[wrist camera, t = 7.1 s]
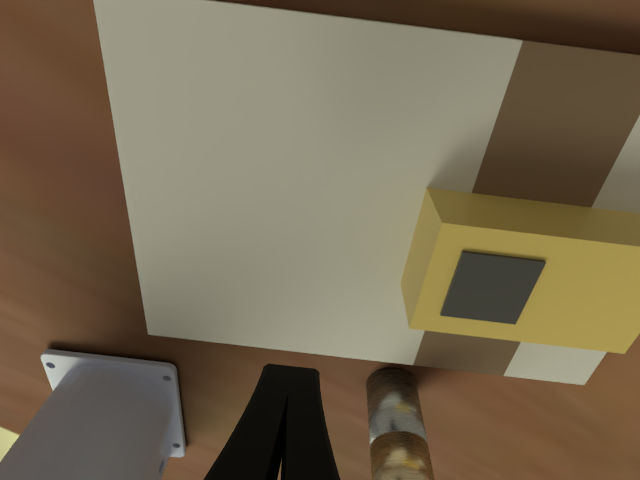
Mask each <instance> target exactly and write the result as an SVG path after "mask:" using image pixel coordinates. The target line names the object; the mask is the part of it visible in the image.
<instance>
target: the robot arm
mask: <svg viewBox="0 0 640 480" xmlns="http://www.w3.org/2000/svg"><path fill="white" fill-rule="evenodd" d="M40 357H41V360H42V363H43V366H44V368H45V371H46V374H47V376H48V379H49V382H50V384H51V387H52V390H53V392H52V393H51V394H50V396H49V397H48V398H47V400H46V401H45V402H44V404H43V405H42V406H41V408H40V409H39V410H38V412H37V413H36V414H35V416H34V417H33V419H32V420H31V421H30V423H29V424H28V425H27V427H26V428H25V429H24V431H23V432H22V433H21V435H20V436H19V437H18V439H17V440H16V442H15V443H14V444H13V446H12V447H11V448H10V450H9V451H8V452H7V454H6V455H5V456H4V458H3V459H2V461H1V462H0V480H161V478H162V476H163V473H164V470H165V468H166V465H167V462H168V460H169V457H170V456H171V457H183V456H184V455H185V452H186V444H185V435H184V427H183V419H182V410H181V402H180V393H179V385H178V377H177V369H176V367H175V366H174V365H173V364H171V363H166V362H158V361H149V360H140V359H131V358H123V357H114V356H105V355H96V354H88V353H79V352H70V351H62V350H53V349H47V350H45V351H44V352H43V353H42V354H41V356H40ZM281 459H282V464H281V480H340V477H339V474H338V470H337V467H336V463H335V460H334V456H333V452H332V448H331V444H330V440H329V436H328V431H327V427H326V422H325V417H324V411H323V406H322V399H321V392H320V381H319V372H318V371H317V370H316V369H311V368H302V367H293V366H284V365H275V364H267V365H265V366H264V368H263V371H262V374H261V376H260V379H259V381H258V384H257V386H256V388H255V390H254V393H253V395H252V397H251V399H250V401H249V403H248V405H247V407H246V409H245V411H244V413H243V415H242V416H241V418H240V420H239V422H238V424H237V425H236V427H235V429H234V431H233V433H232V434H231V436H230V438H229V440H228V441H227V443H226V445H225V446H224V448H223V450H222V451H221V453H220V455H219V456H218V458H217V459H216V461H215V462H214V464H213V466H212V467H211V469H210V470H209V472H208V473H207V475H206V477H205V478H204V480H277V478H278V473H279V468H280V463H281Z"/></svg>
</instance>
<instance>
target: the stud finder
mask: <svg viewBox="0 0 640 480" xmlns="http://www.w3.org/2000/svg"><path fill="white" fill-rule="evenodd" d="M400 285H401V290H402V295H403V300H404V305H405V310H406V315H407V320H408V325H409V329H417V330H425V331H434V332H442V333H451V334H459V335H468V336H477V337H485V338H494V339H502V340H511V341H519V342H528V343H536V344H545V345H554V346H562V347H571V348H579V349H588V350H596V351H605V352H614V353H622V354H625V352H626V351H627V350H628V348H629V347H630V346H631V344H632V343H633V342H634V340H635V339H636V337H637V336H638V335H639V333H640V213H632V212H624V211H615V210H607V209H599V208H591V207H582V206H574V205H566V204H558V203H550V202H541V201H533V200H525V199H517V198H509V197H500V196H492V195H484V194H476V193H467V192H459V191H451V190H443V189H435V188H426V191H425V195H424V198H423V202H422V206H421V209H420V213H419V217H418V220H417V224H416V228H415V231H414V235H413V239H412V243H411V246H410V250H409V254H408V257H407V261H406V265H405V268H404V272H403V276H402V279H401V283H400Z"/></svg>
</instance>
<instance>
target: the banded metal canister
mask: <svg viewBox="0 0 640 480" xmlns="http://www.w3.org/2000/svg"><path fill="white" fill-rule="evenodd" d="M366 389H367V406H368V423H369V440H370V457H371V474H372V480H434V474H433V469H432V464H431V459H430V453H429V448H428V443H427V437H426V432H425V427H424V422H423V416H422V411H421V406H420V401H419V395H418V390H417V385H416V380H415V378H414V376H413V375H412V374H411V373H409V372H408V371H406V370H403V369H400V368H384V369H381V370H378V371H376V372H374V373H373V374H371V375H370V376H369V378H368V379H367V382H366Z"/></svg>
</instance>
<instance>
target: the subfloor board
mask: <svg viewBox="0 0 640 480" xmlns="http://www.w3.org/2000/svg"><path fill="white" fill-rule="evenodd" d="M93 1H94V7H95V13H96V19H97V25H98V32H99V38H100V44H101V50H102V56H103V62H104V68H105V74H106V81H107V87H108V93H109V99H110V105H111V111H112V117H113V123H114V129H115V136H116V142H117V148H118V154H119V160H120V166H121V172H122V178H123V184H124V191H125V197H126V203H127V209H128V215H129V221H130V227H131V233H132V240H133V246H134V252H135V258H136V264H137V270H138V276H139V282H140V288H141V295H142V301H143V307H144V313H145V319H146V325H147V331H148V335H155V336H164V337H173V338H181V339H190V340H199V341H207V342H216V343H225V344H233V345H242V346H251V347H259V348H268V349H277V350H285V351H294V352H303V353H311V354H320V355H329V356H337V357H346V358H355V359H363V360H372V361H381V362H389V363H398V364H407V365H415V366H424V367H433V368H441V369H450V370H459V371H467V372H476V373H485V374H493V375H502V376H511V377H519V378H528V379H537V380H545V381H554V382H562V383H571V384H580V385H584V384H585V383H586V382H587V380H588V379H589V377H590V376H591V374H592V373H593V371H594V370H595V369H596V367H597V366H598V364H599V363H600V361H601V360H602V359H603V357H604V356H605V354H606V353H607V352H605V351H596V350H588V349H579V348H571V347H562V346H554V345H545V344H536V343H528V342H519V341H511V340H502V339H494V338H485V337H477V336H468V335H459V334H451V333H442V332H434V331H425V330H417V329H409V325H408V320H407V315H406V310H405V305H404V300H403V295H402V290H401V285H400V283H401V279H402V276H403V272H404V268H405V265H406V261H407V257H408V254H409V250H410V246H411V243H412V239H413V235H414V231H415V228H416V224H417V220H418V217H419V213H420V209H421V206H422V202H423V198H424V195H425V191H426V188H435V189H443V190H451V191H459V192H467V193H476V194H484V195H492V196H500V197H509V198H517V199H525V200H533V201H541V202H550V203H558V204H566V205H574V206H582V207H591V208H599V209H607V210H615V211H624V212H632V213H640V54H633V53H625V52H617V51H609V50H601V49H594V48H586V47H578V46H570V45H562V44H554V43H546V42H539V41H531V40H523V39H515V38H507V37H499V36H491V35H484V34H476V33H468V32H460V31H452V30H444V29H436V28H429V27H421V26H413V25H405V24H397V23H389V22H381V21H374V20H366V19H358V18H350V17H342V16H334V15H326V14H319V13H311V12H303V11H295V10H287V9H279V8H271V7H263V6H256V5H248V4H240V3H232V2H224V1H216V0H93Z"/></svg>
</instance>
